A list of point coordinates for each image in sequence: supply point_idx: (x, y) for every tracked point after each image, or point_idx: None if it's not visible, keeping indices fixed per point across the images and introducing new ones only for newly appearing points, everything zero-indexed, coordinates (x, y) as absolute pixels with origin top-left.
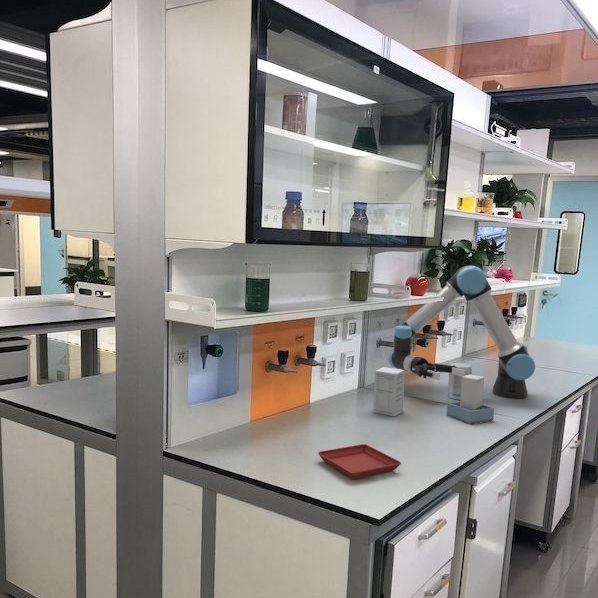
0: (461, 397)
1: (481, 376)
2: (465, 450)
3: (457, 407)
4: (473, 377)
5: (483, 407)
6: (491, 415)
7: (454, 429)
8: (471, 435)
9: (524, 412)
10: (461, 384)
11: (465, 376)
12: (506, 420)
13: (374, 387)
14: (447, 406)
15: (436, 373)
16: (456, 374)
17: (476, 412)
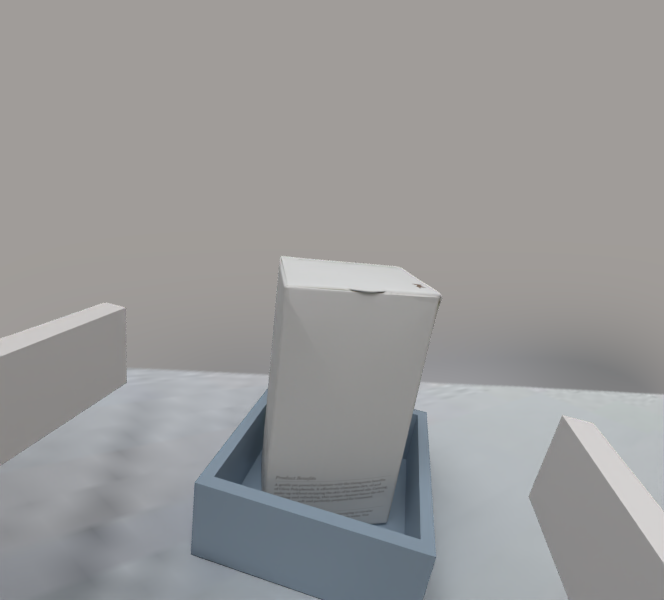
0: (408, 422)
1: (292, 259)
2: (594, 405)
3: (429, 478)
4: (379, 270)
5: (263, 418)
6: None
7: (531, 480)
8: (500, 426)
9: None
10: (427, 347)
11: (406, 286)
12: (222, 401)
13: None
14: (428, 574)
15: (613, 463)
16: (9, 450)
17: None
